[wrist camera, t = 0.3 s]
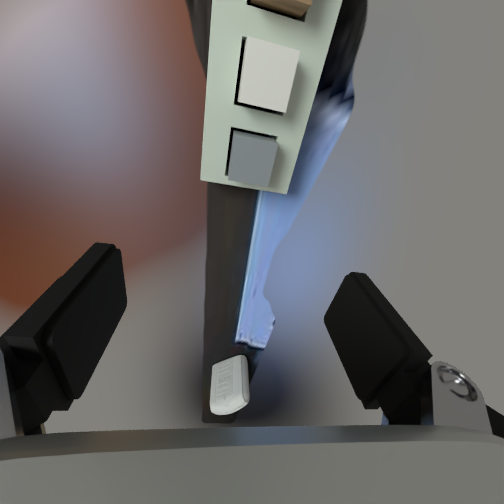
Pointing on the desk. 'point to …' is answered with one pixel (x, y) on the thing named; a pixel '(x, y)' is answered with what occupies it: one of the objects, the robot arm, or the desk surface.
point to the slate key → (251, 158)
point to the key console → (225, 77)
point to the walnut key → (286, 6)
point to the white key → (267, 74)
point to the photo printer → (229, 385)
